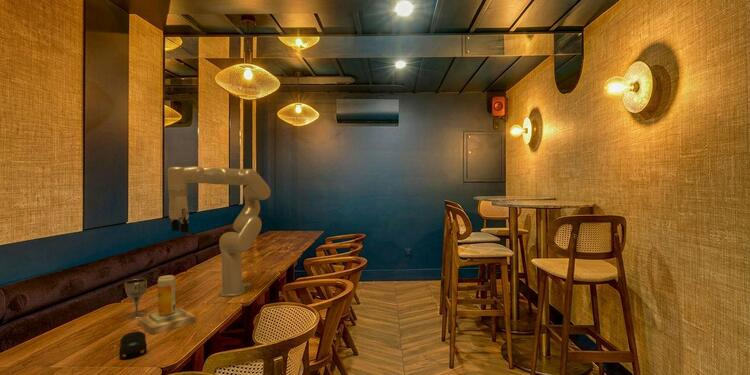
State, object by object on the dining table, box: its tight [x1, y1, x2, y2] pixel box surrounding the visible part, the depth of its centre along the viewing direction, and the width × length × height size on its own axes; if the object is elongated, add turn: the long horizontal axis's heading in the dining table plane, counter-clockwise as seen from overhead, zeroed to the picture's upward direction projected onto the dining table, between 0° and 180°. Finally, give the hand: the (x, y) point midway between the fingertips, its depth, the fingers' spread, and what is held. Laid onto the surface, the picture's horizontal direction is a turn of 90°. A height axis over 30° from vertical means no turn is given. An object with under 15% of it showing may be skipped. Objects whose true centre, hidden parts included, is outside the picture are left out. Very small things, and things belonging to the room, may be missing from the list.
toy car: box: [118, 329, 148, 360], centre depth 124 cm, size 8×17×5 cm, turn 34°
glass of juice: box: [157, 274, 177, 316], centre depth 147 cm, size 6×6×15 cm
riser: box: [137, 307, 197, 336], centre depth 147 cm, size 16×16×4 cm
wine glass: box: [124, 278, 148, 319], centre depth 157 cm, size 8×8×15 cm
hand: (180, 231), depth 165 cm, fingers open, 9 cm apart
